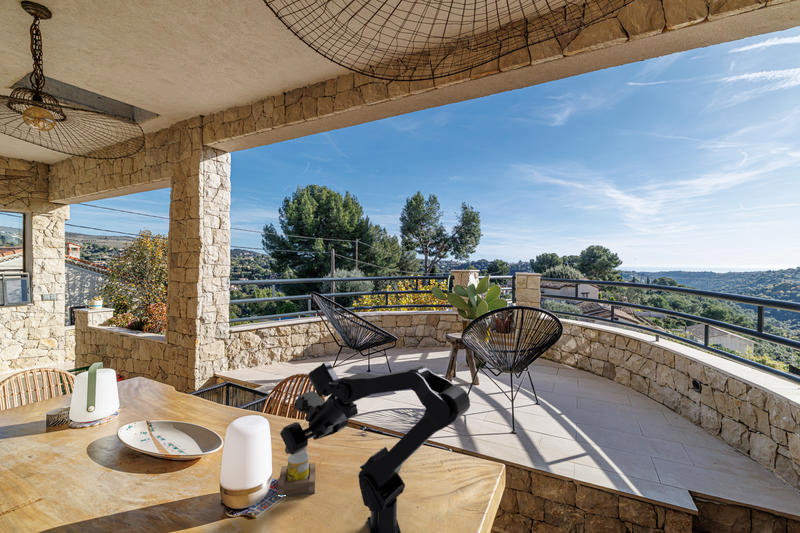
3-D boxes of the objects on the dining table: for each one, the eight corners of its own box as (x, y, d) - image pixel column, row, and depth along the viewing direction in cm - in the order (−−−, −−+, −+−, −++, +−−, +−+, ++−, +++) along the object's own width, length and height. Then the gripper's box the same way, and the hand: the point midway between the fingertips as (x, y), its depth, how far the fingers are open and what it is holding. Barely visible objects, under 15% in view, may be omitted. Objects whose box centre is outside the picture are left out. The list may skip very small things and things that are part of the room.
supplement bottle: (312, 484, 90) (312, 447, 91) (292, 492, 87) (293, 453, 87) (302, 475, 94) (303, 439, 95) (283, 482, 91) (284, 445, 91)
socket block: (314, 493, 87) (314, 481, 87) (277, 497, 85) (277, 485, 86) (315, 473, 96) (315, 462, 96) (281, 477, 94) (281, 466, 94)
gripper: (340, 375, 96) (312, 407, 102) (286, 393, 81) (256, 430, 86) (362, 410, 92) (331, 441, 97) (309, 436, 76) (275, 472, 82)
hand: (300, 444), depth 91 cm, fingers open, 9 cm apart
